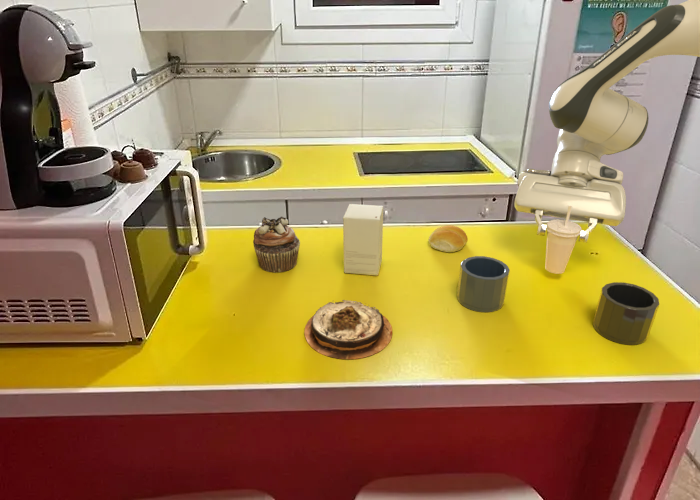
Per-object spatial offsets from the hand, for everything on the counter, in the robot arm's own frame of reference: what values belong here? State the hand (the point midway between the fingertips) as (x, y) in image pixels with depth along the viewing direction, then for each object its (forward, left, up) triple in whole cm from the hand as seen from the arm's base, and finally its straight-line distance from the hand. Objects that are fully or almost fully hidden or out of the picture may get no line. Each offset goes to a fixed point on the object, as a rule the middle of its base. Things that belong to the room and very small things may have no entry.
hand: (561, 237), depth 101 cm
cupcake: (+54, +17, -9) cm, 58 cm away
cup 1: (+12, +14, -9) cm, 21 cm away
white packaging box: (+37, +11, -9) cm, 40 cm away
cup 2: (-12, +14, -9) cm, 20 cm away
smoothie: (0, -1, -8) cm, 8 cm away
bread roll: (+23, -6, -9) cm, 26 cm away
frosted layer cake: (+31, +33, -9) cm, 46 cm away
